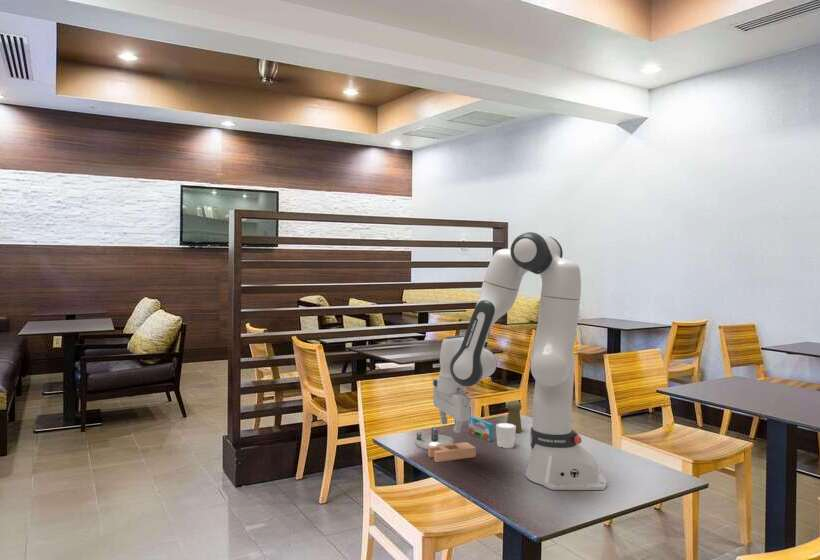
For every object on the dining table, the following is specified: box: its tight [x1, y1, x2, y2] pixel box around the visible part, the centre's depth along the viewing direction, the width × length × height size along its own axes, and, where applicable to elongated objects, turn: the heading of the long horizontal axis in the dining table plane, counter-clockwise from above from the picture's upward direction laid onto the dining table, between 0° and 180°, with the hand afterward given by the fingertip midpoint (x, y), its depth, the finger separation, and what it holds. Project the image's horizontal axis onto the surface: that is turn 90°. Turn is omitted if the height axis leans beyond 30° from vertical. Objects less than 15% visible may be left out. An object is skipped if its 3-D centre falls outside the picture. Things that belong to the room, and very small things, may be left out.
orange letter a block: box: [427, 442, 477, 463], centre depth 180 cm, size 14×6×3 cm, turn 112°
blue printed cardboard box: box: [468, 415, 494, 442], centre depth 201 cm, size 12×2×6 cm, turn 31°
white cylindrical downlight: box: [495, 422, 516, 449], centre depth 192 cm, size 7×7×7 cm
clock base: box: [415, 427, 455, 451], centre depth 192 cm, size 13×13×6 cm
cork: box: [506, 400, 523, 434], centre depth 209 cm, size 6×6×11 cm
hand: (450, 427), depth 180 cm, fingers open, 8 cm apart
